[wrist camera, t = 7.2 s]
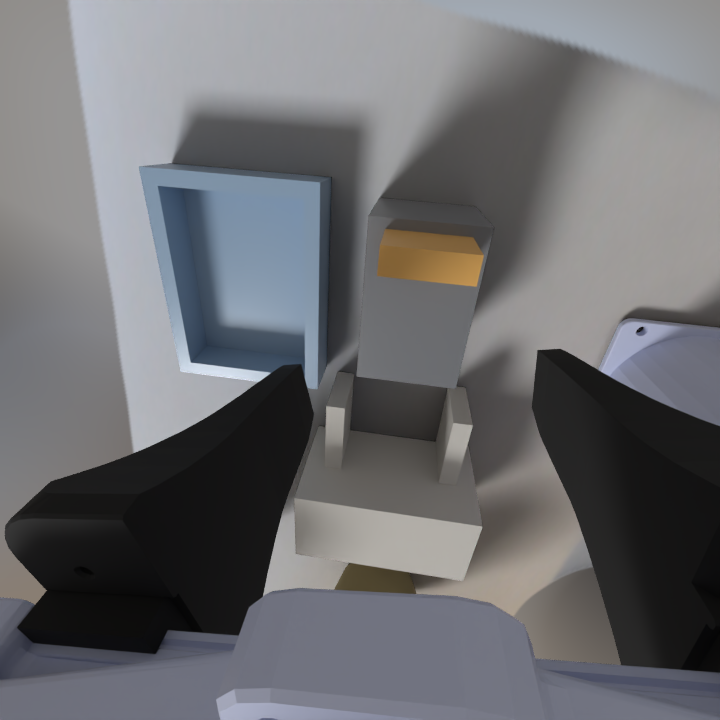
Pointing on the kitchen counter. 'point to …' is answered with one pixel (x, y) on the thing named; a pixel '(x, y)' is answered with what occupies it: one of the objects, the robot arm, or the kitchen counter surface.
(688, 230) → the kitchen counter surface
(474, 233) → the gray block with tab
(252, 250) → the tray
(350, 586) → the squeeze bottle
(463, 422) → the bay
